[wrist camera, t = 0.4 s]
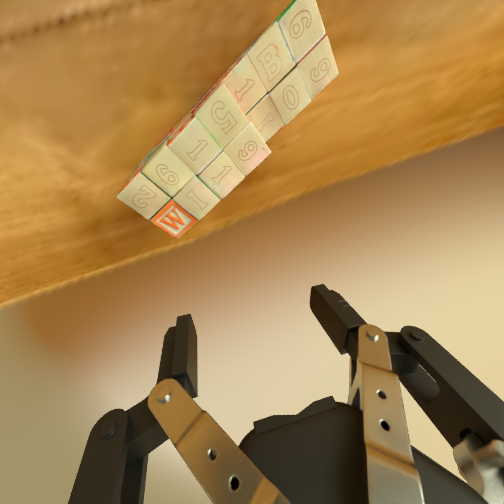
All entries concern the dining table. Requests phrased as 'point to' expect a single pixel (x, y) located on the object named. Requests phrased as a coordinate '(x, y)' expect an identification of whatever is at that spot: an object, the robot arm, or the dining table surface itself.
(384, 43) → the dining table surface
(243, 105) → the stack of blocks
